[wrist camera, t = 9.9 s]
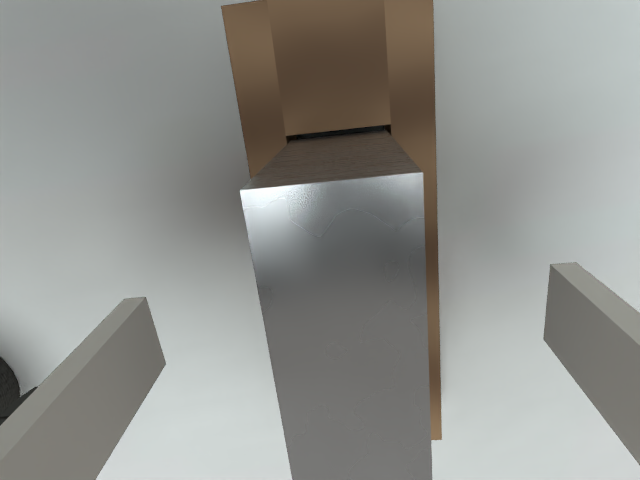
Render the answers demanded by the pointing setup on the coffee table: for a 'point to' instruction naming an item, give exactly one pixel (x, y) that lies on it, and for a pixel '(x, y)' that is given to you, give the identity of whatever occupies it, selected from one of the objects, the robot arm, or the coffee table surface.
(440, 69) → the coffee table surface
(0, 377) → the coffee cup
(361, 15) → the rail
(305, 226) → the grey flat block
